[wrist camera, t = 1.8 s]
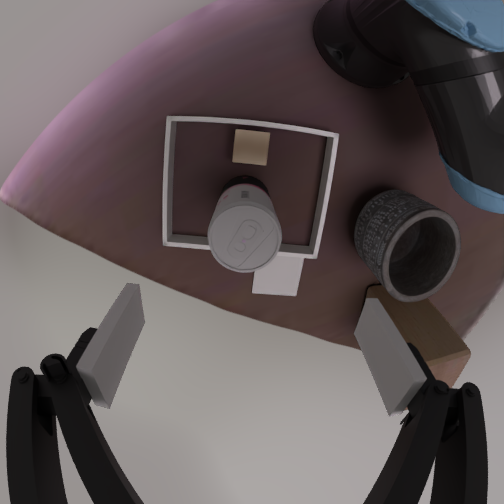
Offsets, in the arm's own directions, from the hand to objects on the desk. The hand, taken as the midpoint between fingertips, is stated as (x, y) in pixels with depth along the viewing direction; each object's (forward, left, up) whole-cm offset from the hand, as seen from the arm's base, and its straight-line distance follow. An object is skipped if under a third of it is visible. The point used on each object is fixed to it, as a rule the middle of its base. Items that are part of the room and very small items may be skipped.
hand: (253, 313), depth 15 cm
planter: (+1, +20, -25) cm, 32 cm away
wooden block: (+16, +26, -25) cm, 39 cm away
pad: (+11, +5, -25) cm, 27 cm away
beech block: (-8, -1, -25) cm, 26 cm away
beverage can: (0, -1, -25) cm, 25 cm away
